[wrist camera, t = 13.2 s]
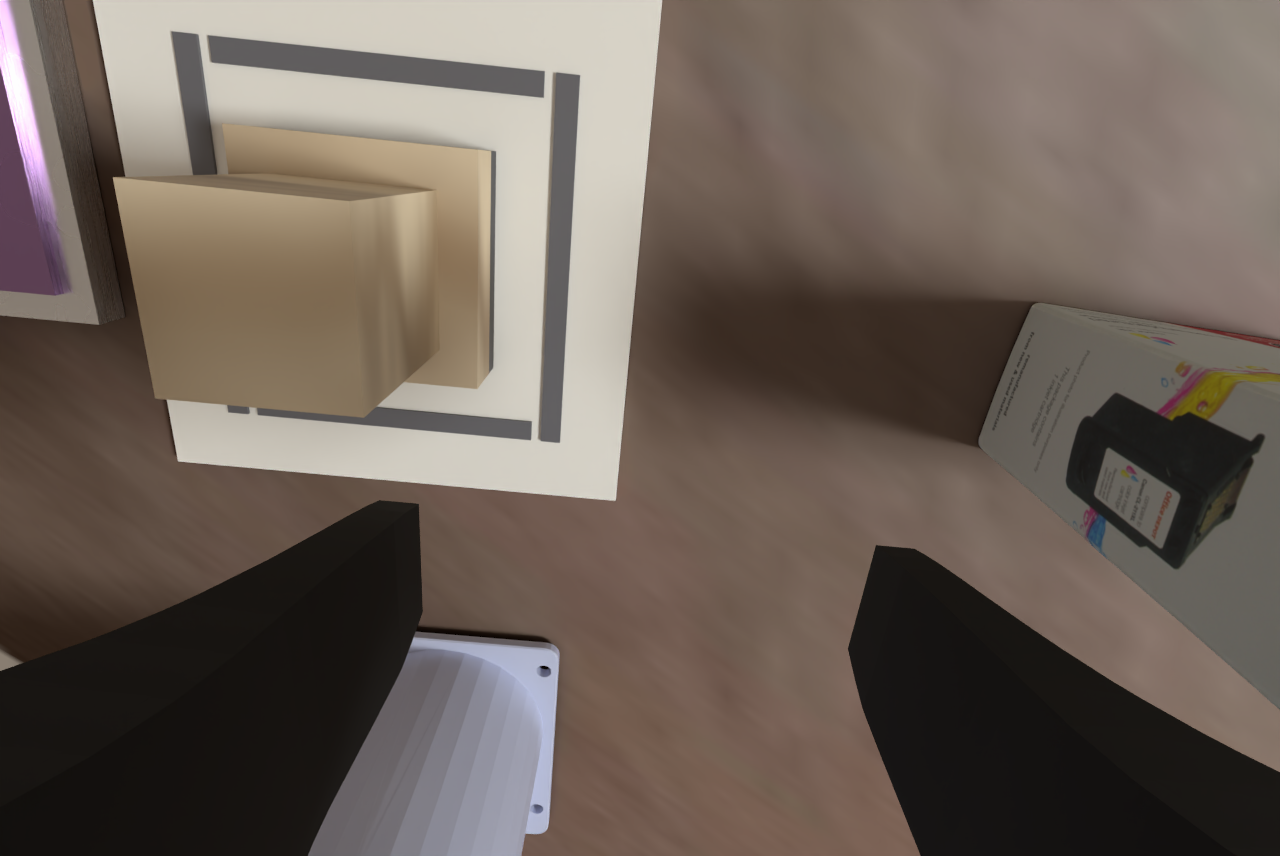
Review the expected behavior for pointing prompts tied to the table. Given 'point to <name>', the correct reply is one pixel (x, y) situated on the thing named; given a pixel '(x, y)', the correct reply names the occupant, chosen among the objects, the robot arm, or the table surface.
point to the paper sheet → (447, 116)
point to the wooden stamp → (315, 271)
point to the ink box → (1157, 463)
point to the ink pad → (49, 178)
